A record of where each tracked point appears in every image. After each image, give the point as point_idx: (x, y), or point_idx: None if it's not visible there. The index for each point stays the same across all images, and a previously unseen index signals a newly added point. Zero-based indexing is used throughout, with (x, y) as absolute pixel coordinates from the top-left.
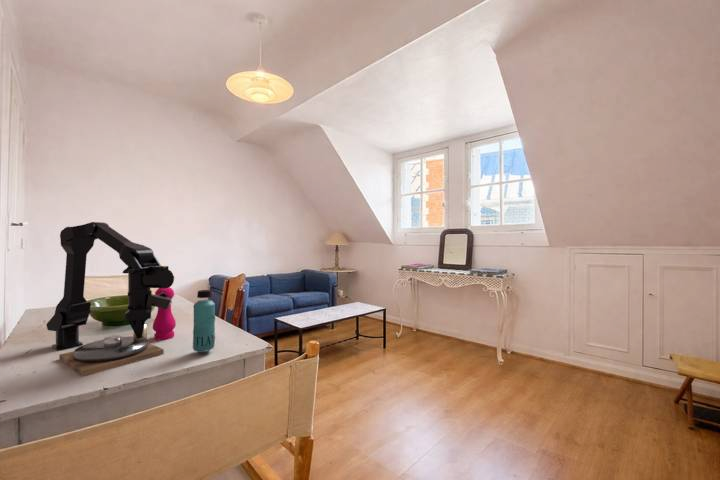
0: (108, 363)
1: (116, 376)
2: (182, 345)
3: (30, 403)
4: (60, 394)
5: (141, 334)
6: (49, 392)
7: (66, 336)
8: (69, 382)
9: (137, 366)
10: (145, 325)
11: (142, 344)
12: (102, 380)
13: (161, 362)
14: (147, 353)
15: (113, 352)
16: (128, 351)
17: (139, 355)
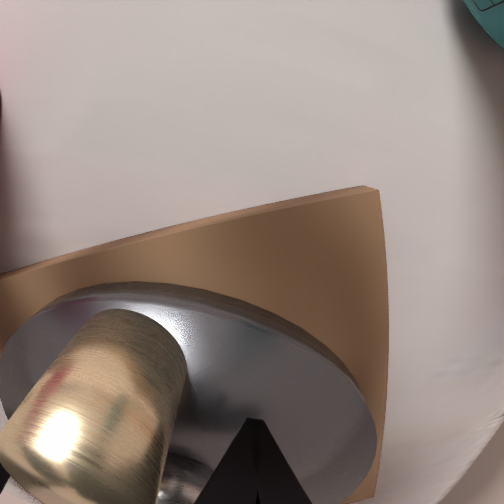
0: (375, 459)
1: (467, 405)
2: (228, 9)
3: (433, 499)
4: (444, 479)
5: (276, 451)
6: (410, 497)
7: (1, 489)
8: (385, 490)
9: (446, 349)
10: (106, 471)
11: (290, 368)
12: (457, 432)
13: (489, 241)
14: (386, 314)
15: (332, 482)
16: (375, 433)
17: (384, 359)
